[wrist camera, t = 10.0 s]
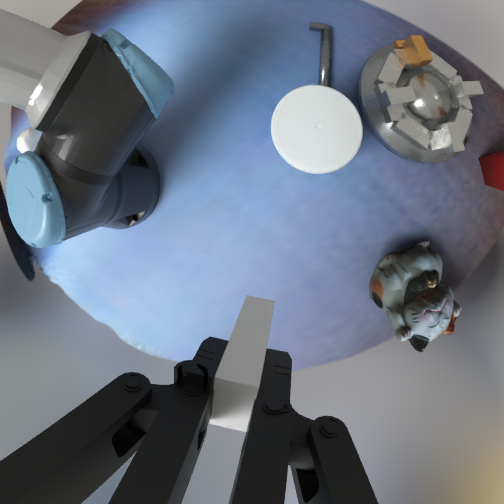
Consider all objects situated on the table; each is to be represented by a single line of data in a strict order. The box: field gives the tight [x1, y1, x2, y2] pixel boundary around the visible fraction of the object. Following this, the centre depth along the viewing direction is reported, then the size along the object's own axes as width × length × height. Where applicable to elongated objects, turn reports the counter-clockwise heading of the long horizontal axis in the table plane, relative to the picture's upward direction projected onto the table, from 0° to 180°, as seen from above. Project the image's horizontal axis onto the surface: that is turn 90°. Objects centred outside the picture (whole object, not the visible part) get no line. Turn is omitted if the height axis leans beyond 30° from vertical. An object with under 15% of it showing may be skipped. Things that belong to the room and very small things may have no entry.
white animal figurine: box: [17, 127, 43, 153], centre depth 41 cm, size 6×8×12 cm
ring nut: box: [373, 35, 484, 153], centre depth 28 cm, size 16×16×6 cm
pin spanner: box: [310, 22, 331, 87], centre depth 34 cm, size 14×3×2 cm, turn 174°
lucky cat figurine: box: [369, 241, 462, 352], centre depth 37 cm, size 15×12×14 cm
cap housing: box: [357, 40, 472, 163], centre depth 31 cm, size 20×20×6 cm
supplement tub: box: [271, 85, 363, 174], centre depth 32 cm, size 10×10×15 cm
